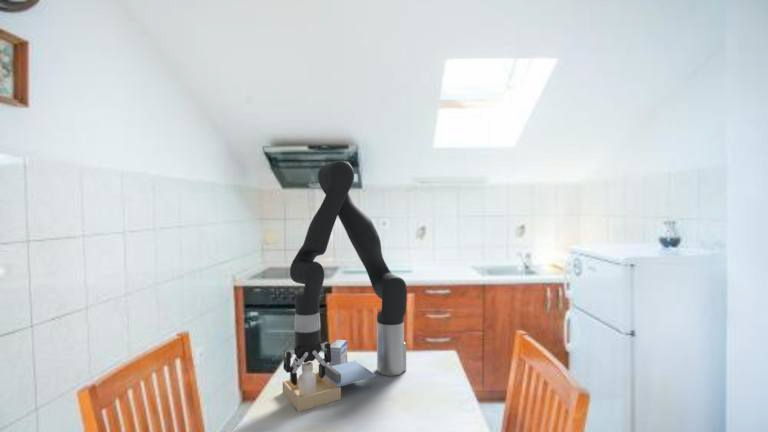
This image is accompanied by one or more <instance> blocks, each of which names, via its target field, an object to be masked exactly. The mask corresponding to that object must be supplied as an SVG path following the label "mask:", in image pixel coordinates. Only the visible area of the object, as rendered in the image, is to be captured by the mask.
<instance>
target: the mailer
mask: <svg viewBox="0 0 768 432" xmlns="http://www.w3.org/2000/svg"><path fill="white" fill-rule="evenodd" d="M313 373H314V374H316V393H314V394H311V395H307V396H304V397H303V396H301V395H299V376H297V385H293V384H292V383H291V381H290V379H287V380H283V381H282V394H283V395H284V396H285V397H286V398H287V400H288V401H289V402H290V403H291V405H292V406H293V407H294V408H295V409H296V411H298V412H302V411H305V410H309V409H312V408H317V407H319V406H322V405H326V404H328V403H333V402H336V401H338V400H341V399H342V386H340V387H337V386H335V385H334V384H333V383H332V382H331V381H330V380H328V379H327V378H326V377H325V376H324V378H320V377H319V371H318V372H313Z"/></svg>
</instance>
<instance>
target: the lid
mask: <svg viewBox="0 0 768 432" xmlns="http://www.w3.org/2000/svg"><path fill="white" fill-rule="evenodd" d="M325 377H326V378H327V379H328V380H330V381H331V382H332V383H333V384H334V385H335V386H337V387H342V386H347V385H350V384H353V383H357V382H361V381H364V380H367V379H371V378H375V377H376V373H374V372H373V371H371V370H370V369H368V368H367V367H365V366H364V365H362V364H361V363H359V362H358V361H356V360H352V361H347V363H343V364H339V365H335V366H330V365H329V362H328V363H327V364H326V365H325Z"/></svg>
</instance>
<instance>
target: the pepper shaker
mask: <svg viewBox="0 0 768 432" xmlns="http://www.w3.org/2000/svg"><path fill="white" fill-rule="evenodd" d="M313 365H314V364H313V361H308V362H306V363H304V362H303V363H302V365H301V372H302V373H300V374H299V375H298V377H299V395H301V396H303V397H304V396H307V395H311V394H314V393H316V374H314V373H315V372H313V370H314V368H313V367H314V366H313Z"/></svg>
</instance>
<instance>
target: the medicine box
mask: <svg viewBox="0 0 768 432" xmlns="http://www.w3.org/2000/svg"><path fill="white" fill-rule="evenodd" d="M330 348H331V362H330V363H329V362H328V364H329V365H330V366H335V365H339V364H343V363H347V362H348V340H346V339H344V340H343V339H335V340H334V342H332V344H330Z"/></svg>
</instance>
